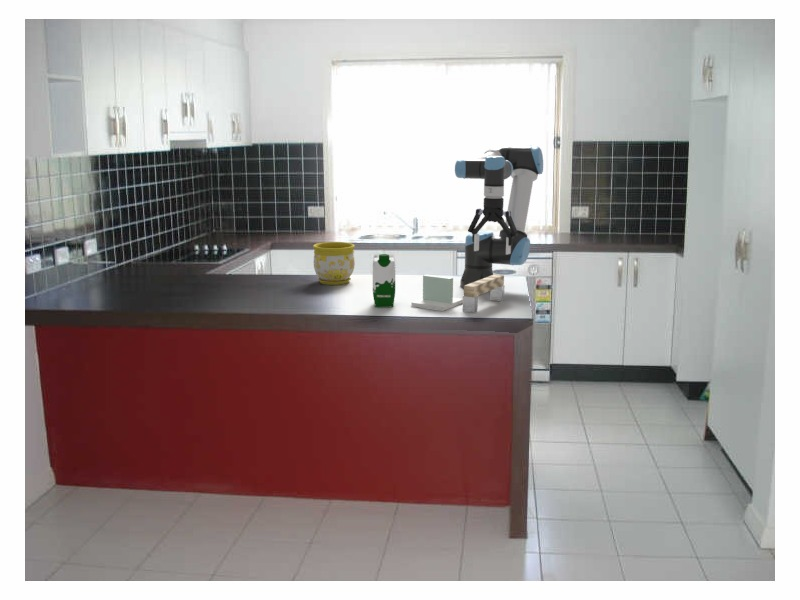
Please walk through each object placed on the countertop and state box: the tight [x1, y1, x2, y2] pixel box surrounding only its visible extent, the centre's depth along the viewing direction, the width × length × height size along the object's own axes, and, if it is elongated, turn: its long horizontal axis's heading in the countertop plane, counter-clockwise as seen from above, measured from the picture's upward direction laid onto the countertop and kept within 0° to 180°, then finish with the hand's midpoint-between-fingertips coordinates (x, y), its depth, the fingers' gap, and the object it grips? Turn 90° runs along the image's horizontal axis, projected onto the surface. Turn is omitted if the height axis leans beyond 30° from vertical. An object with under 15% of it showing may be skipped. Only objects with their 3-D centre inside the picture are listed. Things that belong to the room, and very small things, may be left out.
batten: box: [463, 273, 505, 297], centre depth 317 cm, size 26×4×4 cm, turn 147°
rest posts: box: [462, 284, 505, 314], centre depth 318 cm, size 25×5×6 cm, turn 147°
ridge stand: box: [411, 274, 463, 312], centre depth 320 cm, size 16×14×11 cm
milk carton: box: [372, 253, 396, 308], centre depth 318 cm, size 9×9×20 cm
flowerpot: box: [312, 241, 356, 286], centre depth 360 cm, size 18×18×16 cm
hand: (492, 252), depth 319 cm, fingers open, 13 cm apart
